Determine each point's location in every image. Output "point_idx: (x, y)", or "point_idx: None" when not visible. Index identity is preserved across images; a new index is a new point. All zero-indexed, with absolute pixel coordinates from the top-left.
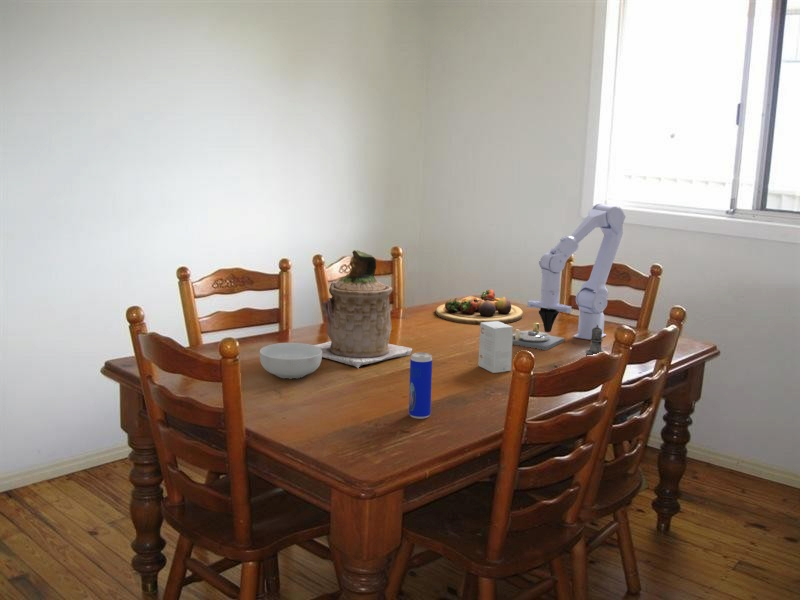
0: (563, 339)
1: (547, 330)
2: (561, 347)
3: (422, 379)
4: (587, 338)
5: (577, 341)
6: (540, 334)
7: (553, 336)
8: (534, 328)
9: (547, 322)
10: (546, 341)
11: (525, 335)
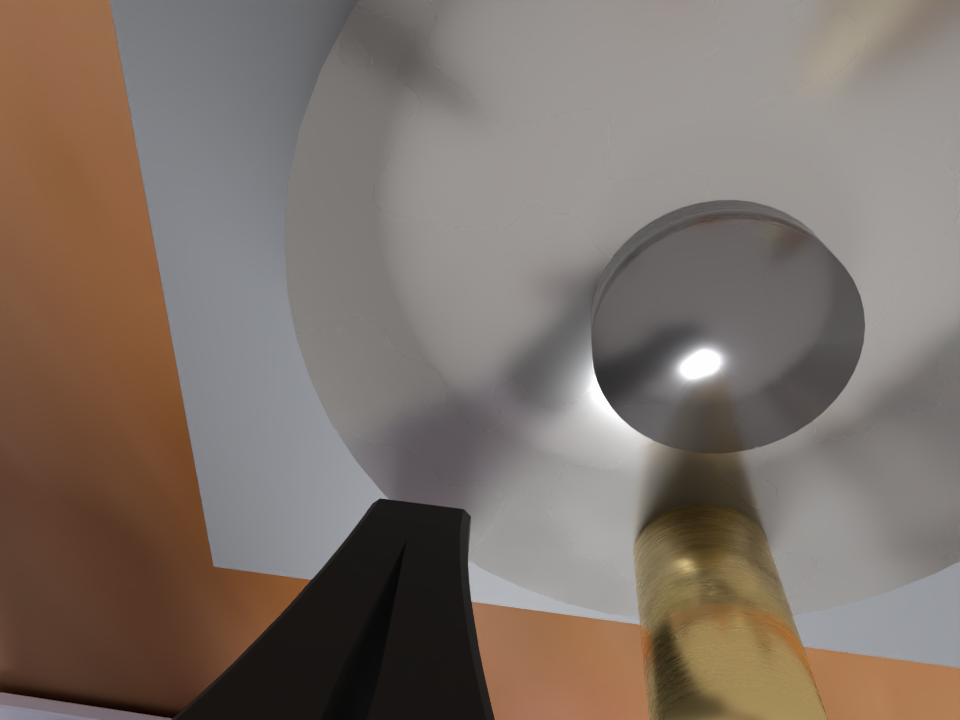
0: (217, 530)
1: (379, 520)
2: (52, 170)
3: None
4: (71, 713)
5: (122, 606)
6: (545, 423)
7: None
8: (745, 577)
9: (305, 688)
10: None
11: (890, 117)
